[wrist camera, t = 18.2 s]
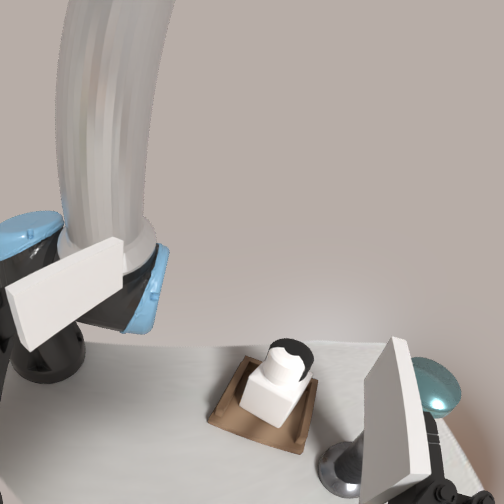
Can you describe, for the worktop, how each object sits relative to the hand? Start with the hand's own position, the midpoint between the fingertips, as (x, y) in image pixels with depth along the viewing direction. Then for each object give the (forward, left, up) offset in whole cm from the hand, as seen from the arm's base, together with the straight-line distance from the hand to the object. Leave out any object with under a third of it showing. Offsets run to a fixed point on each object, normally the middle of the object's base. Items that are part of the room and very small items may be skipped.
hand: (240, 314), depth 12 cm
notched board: (+4, +19, -29) cm, 35 cm away
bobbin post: (+19, +11, -29) cm, 36 cm away
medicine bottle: (+4, +19, -28) cm, 34 cm away
